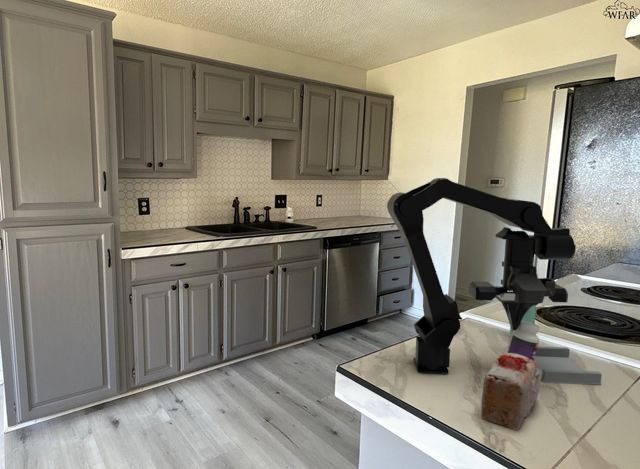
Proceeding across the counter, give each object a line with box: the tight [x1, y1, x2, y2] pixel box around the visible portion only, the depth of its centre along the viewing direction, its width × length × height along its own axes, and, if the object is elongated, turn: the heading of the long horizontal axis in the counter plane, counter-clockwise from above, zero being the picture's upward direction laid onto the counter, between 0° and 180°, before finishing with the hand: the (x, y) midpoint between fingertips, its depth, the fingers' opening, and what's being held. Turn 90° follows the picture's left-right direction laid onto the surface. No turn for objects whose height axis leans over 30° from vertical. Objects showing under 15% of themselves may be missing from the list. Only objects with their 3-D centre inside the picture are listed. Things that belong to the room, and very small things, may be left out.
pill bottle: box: [506, 320, 540, 361], centre depth 87 cm, size 5×5×10 cm
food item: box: [481, 352, 542, 431], centre depth 71 cm, size 14×8×10 cm, turn 143°
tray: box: [533, 345, 603, 386], centre depth 87 cm, size 11×13×2 cm
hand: (513, 329), depth 87 cm, fingers closed
